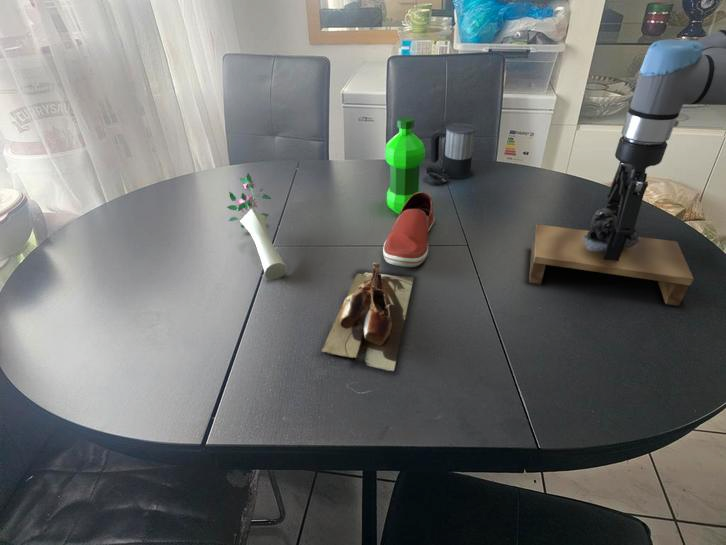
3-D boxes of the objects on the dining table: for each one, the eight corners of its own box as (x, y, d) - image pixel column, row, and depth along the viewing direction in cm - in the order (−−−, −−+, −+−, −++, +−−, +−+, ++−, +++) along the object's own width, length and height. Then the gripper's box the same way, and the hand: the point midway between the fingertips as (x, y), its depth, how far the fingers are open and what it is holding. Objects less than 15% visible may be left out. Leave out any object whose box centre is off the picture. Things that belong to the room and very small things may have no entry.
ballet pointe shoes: (314, 335, 75) (351, 247, 97) (318, 363, 78) (353, 272, 101) (395, 343, 72) (414, 251, 94) (395, 371, 76) (414, 276, 98)
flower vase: (265, 304, 104) (230, 214, 125) (312, 280, 105) (269, 194, 126) (243, 275, 94) (209, 183, 115) (295, 249, 95) (252, 162, 117)
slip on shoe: (372, 273, 100) (371, 239, 94) (402, 214, 122) (403, 184, 117) (419, 281, 97) (421, 246, 92) (441, 219, 119) (444, 188, 114)
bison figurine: (614, 234, 97) (628, 191, 91) (643, 249, 91) (660, 205, 86) (573, 248, 93) (585, 204, 87) (601, 265, 87) (616, 219, 82)
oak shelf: (665, 268, 98) (677, 241, 94) (679, 307, 87) (693, 278, 83) (530, 250, 105) (536, 224, 101) (528, 284, 95) (535, 256, 91)
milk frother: (472, 168, 147) (477, 123, 138) (470, 188, 134) (475, 140, 126) (428, 166, 150) (431, 121, 141) (423, 185, 137) (425, 138, 129)
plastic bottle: (417, 221, 119) (421, 126, 104) (380, 215, 122) (378, 123, 108) (426, 205, 126) (431, 115, 112) (391, 200, 130) (391, 112, 115)
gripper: (683, 163, 69) (636, 279, 82) (656, 121, 86) (621, 223, 99) (629, 158, 71) (592, 273, 84) (613, 119, 88) (584, 219, 101)
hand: (607, 246), depth 92 cm, fingers closed on bison figurine, 9 cm apart
